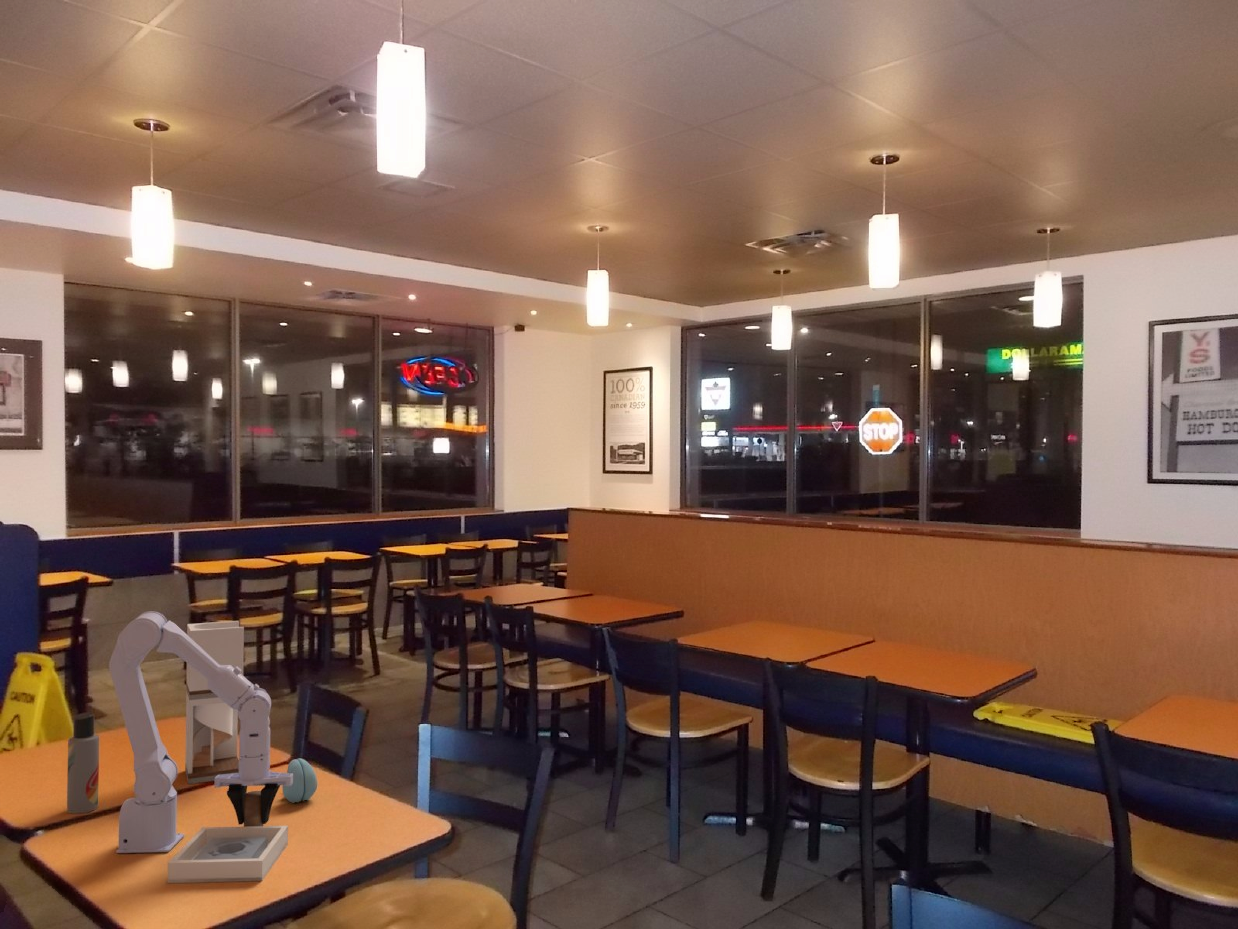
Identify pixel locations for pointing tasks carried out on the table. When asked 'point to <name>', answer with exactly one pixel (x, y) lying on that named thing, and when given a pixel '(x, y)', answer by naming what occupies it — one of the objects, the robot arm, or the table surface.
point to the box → (228, 854)
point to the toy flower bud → (300, 781)
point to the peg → (253, 809)
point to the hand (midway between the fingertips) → (253, 822)
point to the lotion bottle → (83, 766)
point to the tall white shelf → (212, 705)
